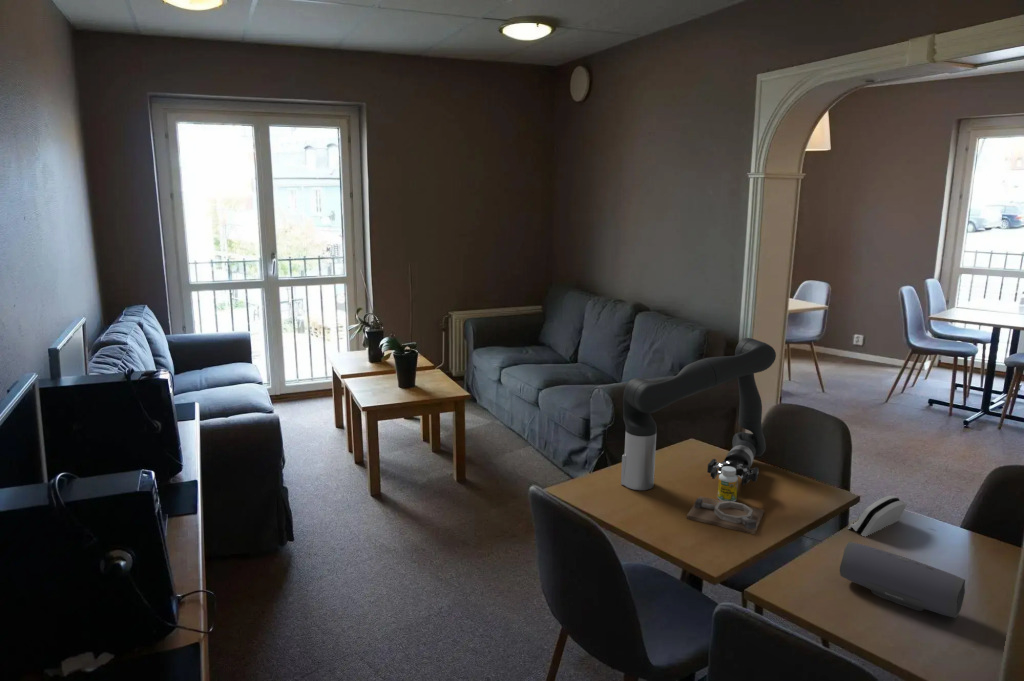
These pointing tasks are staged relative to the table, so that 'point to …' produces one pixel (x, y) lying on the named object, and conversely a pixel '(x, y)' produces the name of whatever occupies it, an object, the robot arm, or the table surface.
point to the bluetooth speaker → (903, 580)
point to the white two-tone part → (879, 515)
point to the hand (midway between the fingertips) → (728, 478)
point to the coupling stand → (726, 514)
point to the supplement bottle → (727, 484)
